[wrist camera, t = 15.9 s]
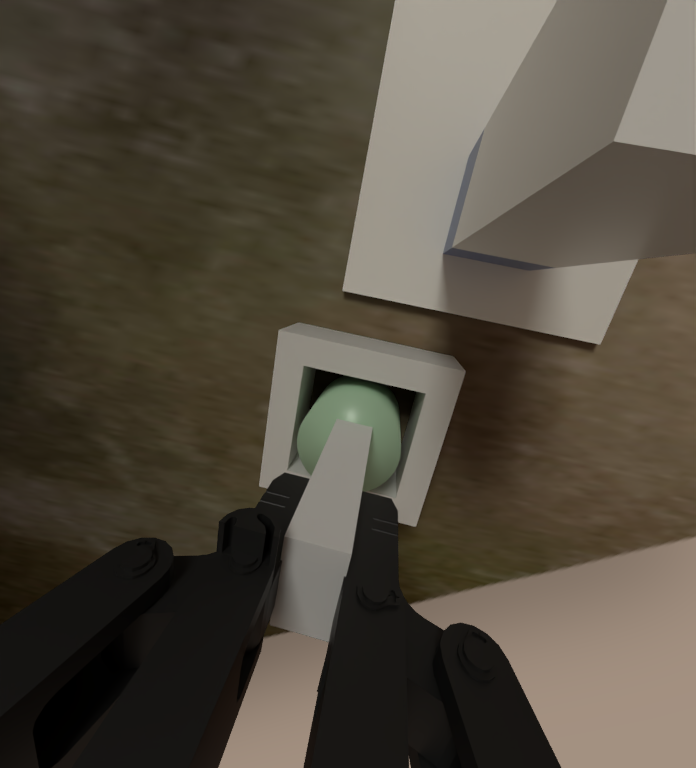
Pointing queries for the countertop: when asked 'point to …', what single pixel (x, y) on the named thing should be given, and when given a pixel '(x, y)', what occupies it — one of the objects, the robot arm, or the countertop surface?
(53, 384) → the countertop surface
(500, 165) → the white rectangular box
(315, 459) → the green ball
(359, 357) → the housing
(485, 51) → the slotted base plate
